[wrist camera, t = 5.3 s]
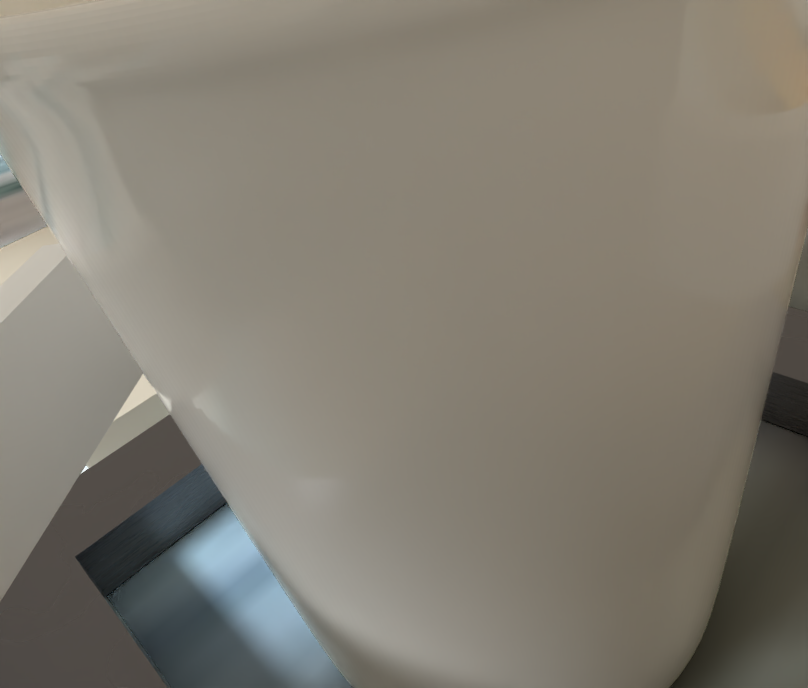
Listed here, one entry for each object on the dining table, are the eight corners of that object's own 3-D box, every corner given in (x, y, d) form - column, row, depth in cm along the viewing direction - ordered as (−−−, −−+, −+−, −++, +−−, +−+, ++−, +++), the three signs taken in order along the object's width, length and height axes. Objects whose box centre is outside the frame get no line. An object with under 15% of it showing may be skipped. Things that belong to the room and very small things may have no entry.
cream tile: (-59, 300, 31) (-73, 282, 31) (255, 147, 40) (249, 131, 39) (91, 470, 19) (74, 446, 19) (491, 200, 28) (488, 178, 27)
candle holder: (572, 351, 19) (537, -163, 12) (892, 640, 12) (1294, -309, 5) (244, 491, 17) (-16, -20, 10) (362, 946, 10) (-334, 147, 3)
